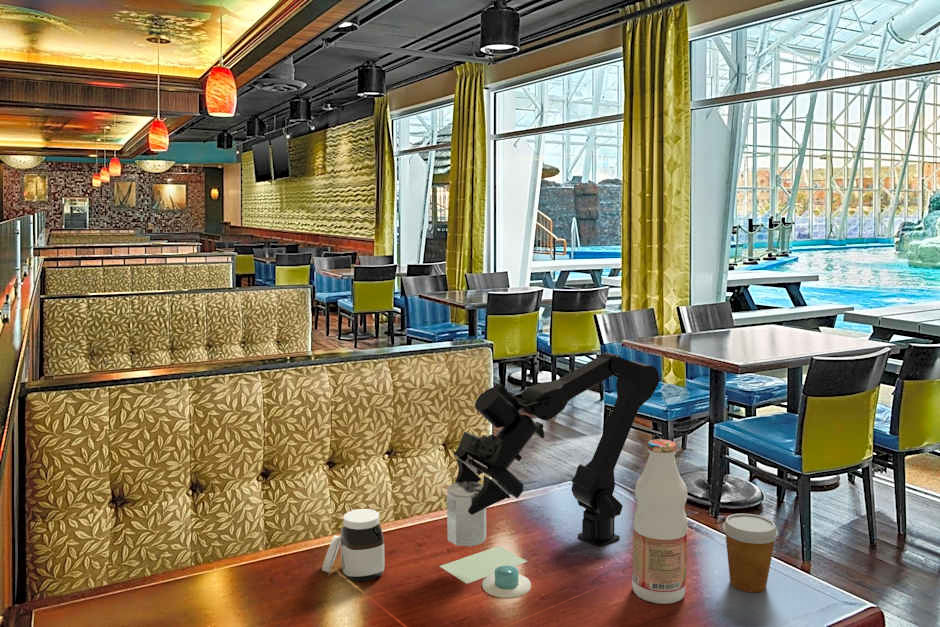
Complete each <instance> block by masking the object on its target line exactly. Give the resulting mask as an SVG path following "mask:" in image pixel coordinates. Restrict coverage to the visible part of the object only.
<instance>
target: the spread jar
mask: <svg viewBox="0 0 940 627" xmlns="http://www.w3.org/2000/svg"><path fill="white" fill-rule="evenodd" d="M342 517H343V519H342V520H343V522H342V523H343V525H342V526H341V530H340V534H339V535H340V536H337V535H333V537H332V539H331V542H330V544H329V547H328V549H327V551H326V555H325V558H324V559H323V560H324V561H323V564H322V569H321V570H322V571H323V572H326V573H330V571H331V569H332V568H333V565H334V562H335V559H336V557H337V554H338V550H339V548H340V561H341V563H340V564H341V568H342V569H341V570H342V574H343V576H344V578H346V579H347V580H350V581H354V582H366V581H370V580H371V581H372V580H374V579H376V578H378V577H380V576H381V575H382V574H383V573H384V571H385V561H386V560H385V541H384V540H385V539H384V534H383V529H382V526H381V525H380V513H379V512H378V511H376V510H374V509H370V508H359V509H357V508H356V509H352V510H349V511H347V512H346V513H344V515H343V516H342Z"/></svg>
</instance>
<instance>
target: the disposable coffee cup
mask: <svg viewBox="0 0 940 627" xmlns="http://www.w3.org/2000/svg"><path fill="white" fill-rule="evenodd" d="M722 530H723V531H724V533H725V542H726V553H727V562H728V574H729V583H730V585H731V586H732V587H733V588H734V589H737V590H739V591H742V592H747V593H760V592H763V591H765V590H766V588H767V584H768V578H769V573H770V568H771V561H772V557H773V551H774V547H775V541H776V539H777V537H778V536H779V531H778V529H777V525H776V523H775V522H774V521H773V520H771V519H769V518H767V517H765V516H762V515H759V514H754V513H753V514H752V513H734V514H730V515H728V516H726V518H725V520H724V523H723V524H722Z"/></svg>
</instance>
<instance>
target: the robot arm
mask: <svg viewBox="0 0 940 627" xmlns="http://www.w3.org/2000/svg"><path fill="white" fill-rule="evenodd" d="M612 376H613V377H616V378H617V379H616V383H615V386H616V395H617V397H616V401H615V403H614V405H613V407H612V410H611V413H610V415H609V416H608V420H607V423H606V425H605V427H604V430H603V432H602V435H601V437H600V438H599V439H600V440H599V442H598V444H597V447H596V450H595V451H594V454H593V456H592V459H591V460H590V461H589V462H588V463H586V464H585V465H582V464H579V465H578V466H577V468H576V472H575V474H574V477H573V478H572V479H571V480H570V482H571V483H572V484H571V492H572V495H573V497H574V499H575V500H576V501H577V505H578V506H579V507H582V508H584V509H585V510H583V512H582V513H583V518H582V519H581V520H582V521H581V522H582V524H581V525H582V527H581V532H580V533H578V534H577V537H578V538H580V539H582V540H584V541H586V542H588V543H590V544H593V545H594V546H597V547H602V546H604V545H607V544H610V543H613V542H615V541H618V540H620V539H621V538H620V537H621V536H620V535H617V534H616V533H615V518H616V517H618V516H620V515H621V513H622V509H623V503H621V502H620V501H619V500H618V499H617V498H616V497H615V496H614V491H615V487H616V481H615V468H616V465H617V463H618V460H619V459H620V456H621V454H622V451H623V448H624V446H625V443H626V442H627V439H628V437H629V434H630V432H631V429H632V426H633V424H634V421H635V419H636V417H637V414H638V412H639V409H640V408H641V406H643V405H644V404H645V403H646V402H648V400H650V399H651V398H652V396H653V395H654V394H655V392H656V389H657V387H658V386H659V383H660V380H661V379H660V378H661V376H660V375H659V371H658V369H657V368H656V367H655V366H654V365H650V364H646V363H642V362H638V361H635V360H628V359H625V358H624V357H622V356H620V355H619V354H614V353H610V352H607V351H606V352H602V353H600V354H598V356H596V358H594V359H593V360H590V361H588V362H587V363H585V364H583V365H581V366H580V367H578V368H575V369H574V370H572V371H571V372H569V373H566V374H565V375H563V376H561V377H560V378H558V379H555V380H551V381H546V382H545V381H544V382H539V383H537V384H533V385H531V386H529V387H527V388H526V389H524V390H523V391H522V392H521V393H520V392H519V393H517V394H513V395H512V394H511V393H510V392H509V391H508V389H507V388H506V387H505V386H504V385H503V384H501V383H498V382H497V383H496V384H495V385H494V386H493V387H490V388H488V389H486V390H485V391H484V392H481V393H480V394H479V395H478V397H477V399H476V401H475V403H474V409H475V410H476V411H477V412H478V413H479V414H480V415H481V416H483V417H484V419H485V420H486V421H488V422H489V423H490V424H491V425H492V426H493V427H494V428H496V429H498V428H499V429H500V428H501V429H500V430H499V431H498V432H497V433H496V435H494V434H493V433H491V434H489V435H488V436H487V435H484V434H483V435H482V436H478V435H476V434H473V433H470V432H467V431H464V432H463V433H462V437H461V439H460V442H459V444H458V448H457V449H455V452H453V456H455V457H456V463H457V468H458V471H457V472H458V473H457V476H456V480H455V482H454V483H458V482H465V481H468V482H476V483H480V481H481V480H482V478H481V477H480V475H481V474H484V475H483V483H482V485H483V488H482V489H481V491H480V492H479V494H478V495H477V497H476V498H475V500H474V501H473V503H472V504H471V506H470V508H469V510H468V512H469V513H470V514H471V515H473V514H475V513H477V512H479V511H481V510H483V509H484V508H486V509H487V508H489V507H490V506H492V505H494V504H496V503H497V504H498V503H499V502H501V501H503V500H505V499H507V500H508V499H510V498H511V496H512V497H514V498H515V499H517V500H518V499H519V497H521V495H522V493H523V492H524V483H523V482H522V481H521V480H520V479H518V478H517V477H516V476H515V475H514V474H513V473H512V472H511V471H509V470H508V469H509V468H510V467H511V466H512V464H513V463H514V461H518V462H520V461H521V459H523V457H522V456H521V455H520V453H521V452H522V451H523V450H524V448H525V447H526V446H527V444H529V442H530V441H531V439H532V438H533V436H536V437H538V438H540V439H543V438H545V432H544V424H543V423H541V422H538V421H536V422H535V421H534V420H533V418H532V417H530V416H533V417H534V418H537V419H539V420H542V421H545V422H546V421H551V420H553V419H554V418H555V417H556V416H557V415H560V413H562V411H564V410H565V408H566V407H567V404H568V403H569V401H571V400H572V399H573V398H575V397H577V396H579V395H580V394H583V393H585V392H586V391H588V390H589V389H591V388H593V387H595V386H596V385H598V384H600V383H601V382H603V381H605V380H607V379H609V378H610V377H612ZM520 411H521V412H524V413H526V414H521V413H520ZM527 414H528V415H527ZM529 415H530V416H529Z"/></svg>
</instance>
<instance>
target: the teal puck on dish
mask: <svg viewBox="0 0 940 627" xmlns="http://www.w3.org/2000/svg"><path fill="white" fill-rule="evenodd" d="M519 572H520V571H519V569H518V568H517V566H515V567H513V566H507V565H505V566H499V567H497V568H496V569H495V574H492V575H490V576H487V577H484V578H483V580H482V584H481V586H482V589H483V590H484V591H485V593H487V594H489V595H491V596H494V597H497V598H506V599H507V598H509V599H510V598H518V597H522V596H523V595H526V594H527V593H529V592H530V590H531V588H532V582H531V581H530V579H529V578H528V577H526V576H524V575H522V574H519Z"/></svg>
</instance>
